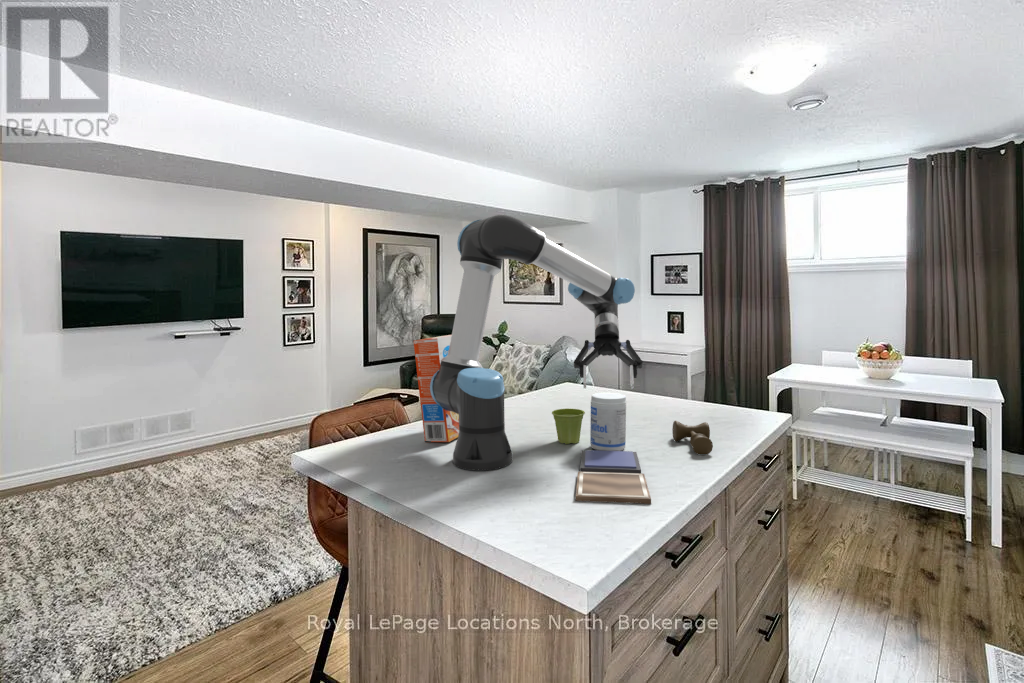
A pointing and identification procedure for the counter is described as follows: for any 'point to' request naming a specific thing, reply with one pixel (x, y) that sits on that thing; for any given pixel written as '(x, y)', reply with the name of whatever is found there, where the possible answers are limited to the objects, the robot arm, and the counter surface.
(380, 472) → the counter surface
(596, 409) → the supplement tub
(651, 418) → the counter surface
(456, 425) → the orange cereal box
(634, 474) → the board
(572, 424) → the plant pot
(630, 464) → the ink pad
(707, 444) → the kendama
